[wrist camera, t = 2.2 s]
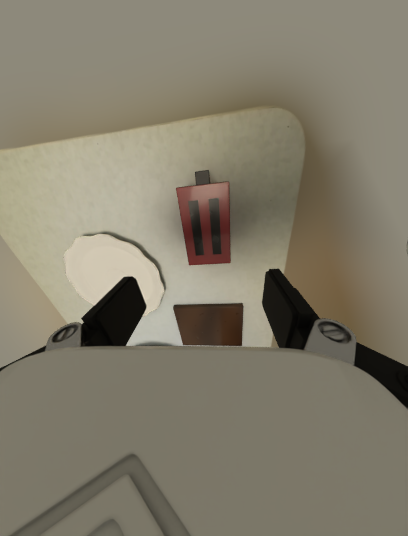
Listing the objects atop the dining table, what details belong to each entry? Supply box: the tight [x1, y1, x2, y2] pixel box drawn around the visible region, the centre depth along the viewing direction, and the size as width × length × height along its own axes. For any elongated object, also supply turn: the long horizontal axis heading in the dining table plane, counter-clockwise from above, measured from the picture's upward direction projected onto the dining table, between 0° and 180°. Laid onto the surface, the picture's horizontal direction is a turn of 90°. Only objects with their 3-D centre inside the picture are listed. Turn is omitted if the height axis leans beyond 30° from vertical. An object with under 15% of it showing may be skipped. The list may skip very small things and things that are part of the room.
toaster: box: [176, 170, 231, 265], centre depth 21 cm, size 6×11×7 cm, turn 6°
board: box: [173, 304, 243, 346], centre depth 37 cm, size 16×14×1 cm
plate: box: [63, 234, 164, 317], centre depth 32 cm, size 21×21×2 cm
